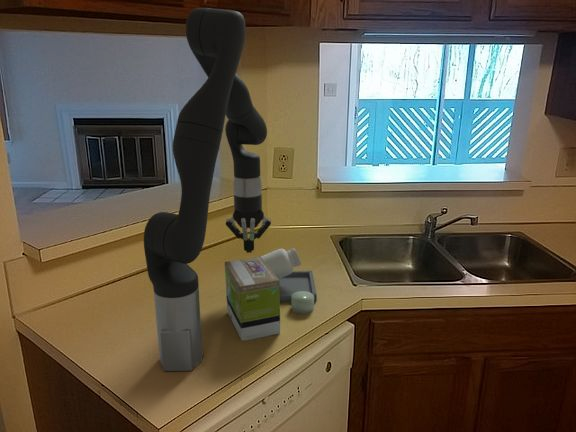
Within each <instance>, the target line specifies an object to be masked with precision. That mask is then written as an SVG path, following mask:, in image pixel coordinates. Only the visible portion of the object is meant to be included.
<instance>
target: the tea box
mask: <svg viewBox="0 0 576 432" xmlns="http://www.w3.org/2000/svg"><path fill="white" fill-rule="evenodd" d="M261 256H262V255H260V256H254V257H249V258H243V259H242V258H241V259H237V260H236V259H235V260H228V261H224V273H225V275H224V276H225V295H226V296H225V297H226V310H227V314H228V316H229V317H230V320H231V322H232V324H233V325H234V328H235V330H236V332H237V335H238V336H239V338H240V340H241V342H245V341H250V340H255V339H261V338H264V337H265V338H266V337H269V336H274V335H279V334H281V302H280V280H279V279H278V278H277V276H276V275H275V274H274V273H273V271H272V270H271V269H270V268H269V266H268V265H267V264H266V263H265V261H264V260H263V259H262V258H261Z"/></svg>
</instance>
